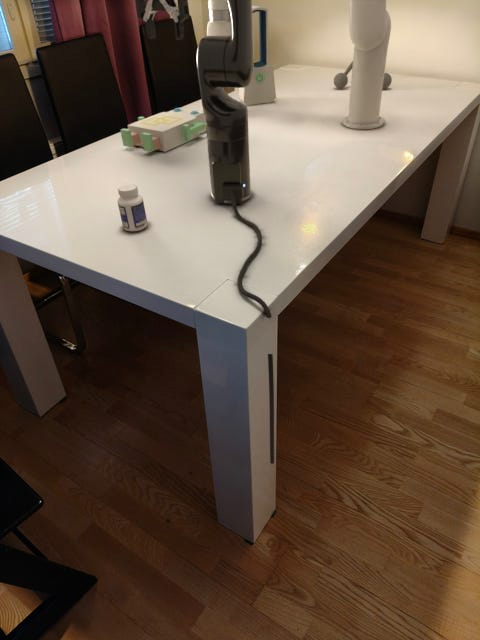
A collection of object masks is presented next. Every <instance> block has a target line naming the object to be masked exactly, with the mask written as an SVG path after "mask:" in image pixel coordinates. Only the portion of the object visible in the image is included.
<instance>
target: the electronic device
mask: <svg viewBox="0 0 480 640" xmlns="http://www.w3.org/2000/svg"><path fill="white" fill-rule="evenodd" d="M257 12H258V24H259V25H258V29H259V31H258V33H259V34H258V35H259V61H254V69H253V76H252V80H251V82H250V84H249V85H248V86H247V87H245V88H238V97H239V100H240V101H242V103H243V104H244V105H245V106H252V105H253V106H254V105H260V104H267V103H268V104H269V103H274V102H275V100H276V99H277V93H276V92H277V91H276V82H275V72H274V67H273V66H272V65H271V64H269V9H268V8H265V7H263V6H259V5H252V14H254V13H257Z"/></svg>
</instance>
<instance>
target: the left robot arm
mask: <svg viewBox="0 0 480 640" xmlns="http://www.w3.org/2000/svg"><path fill="white" fill-rule="evenodd" d="M176 1H177V2H176ZM226 2H227V4H228V8H229V11H230V16H231V23H232V36H207V35H205V36H203V37H202V38H201V39H200V40H199V42H198V45H197V49H196V70H197V78H198V84H199V92H200V99H201V107H202V112H204V115H205V122H206V131H205V133H206V144H207V155H208V166H209V167H208V168H209V179H210V189H211V193H210V195H211V200H212V201H214V203H215V204H216V205H232V208H233V212H234V215H235V217H236V218H237V219H238V220H239V221H240V222H241V223H243V224H244V225H246V226H248V227H251V228H253V230H254V231H255V233H256V235H257V242H256V243H257V244H256V246H255V248H254V250H253V251H252V252H251V253H250V255H249V256H248V257H247V258H246V260H244V263H243V265H242V267H241V269H240V271H239V274H238V276H237V281H236V282H237V288H238V290H239V292H240V293H241V294H242V295H243V296H244V297H246V298H249V299H250V300H253V301H255V302H256V303H258V305H260V306H261V307H262V309H263V311H264V313H265V317H266V318H268V319H271V318H272V316H273V315H272V313H271V310H270V307H269V306H268V304H267V303H266V302H265V301H264V300H263V299H262V298H261V297H260V296H258V295H256V294H253V293H251V292H249V291H247V290H246V289H245V288H244V285H243V278H244V275H245V273H246V272H247V268H248V267H249V264H250V263H251V261H252V260H253V259H254V258H255V257H256V256H257V254H258V253H259V251H260V250H261V247H262V242H263V234H262V232H261V230H260V228H259V227H258V226H257V224H256V223H253V221H252V222H251V221H249V220H247V219H245V218H243V217H242V215H241V214H240V212H239V210H238V206H237V205H242V204H243V202H246V201H248V200H250V198H251V196H252V190H251V165H250V162H251V161H250V138H249V135H250V134H249V111H248V107H247V105H246V104H245V103H244V102H241V101H239V100H238V99H235V98H233V97H232V96H230V95H229V94H227V93H226V92H225V91H224V89H223V87H227V88H235V89H239V88H245V87H247V86H248V85H249V84H250V82H251V80H252V76H253V69H254V63H255V46H254V45H255V43H254V23H253V22H254V21H253V13H252V6H253V0H226ZM135 7H136V17H137V18H138V20H140V19H141V20H142V21H143V22H144V23H145V30H146V35H147V37H148V39H149V40H154V39H157V32H156V31H157V30H156V24H155V20H154V18H155V16H156V13H158V12H159V11H161V12H165V11H166V13H167V14H168V15H170V16H171V18H172V20H173V21H174V22H173V26H174V35H175V40H176V41H182V40H183V39H184V37H185V28H184V21H185V20H186V19H189V18H190V7H189V0H135ZM273 355H274V354H273V353H267V365H268V366H267V369H268V397H269V398H268V400H269V463H270V464H271V465H273V464H275V389H274V388H275V385H274V384H275V383H274V381H275V379H274V356H273Z"/></svg>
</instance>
